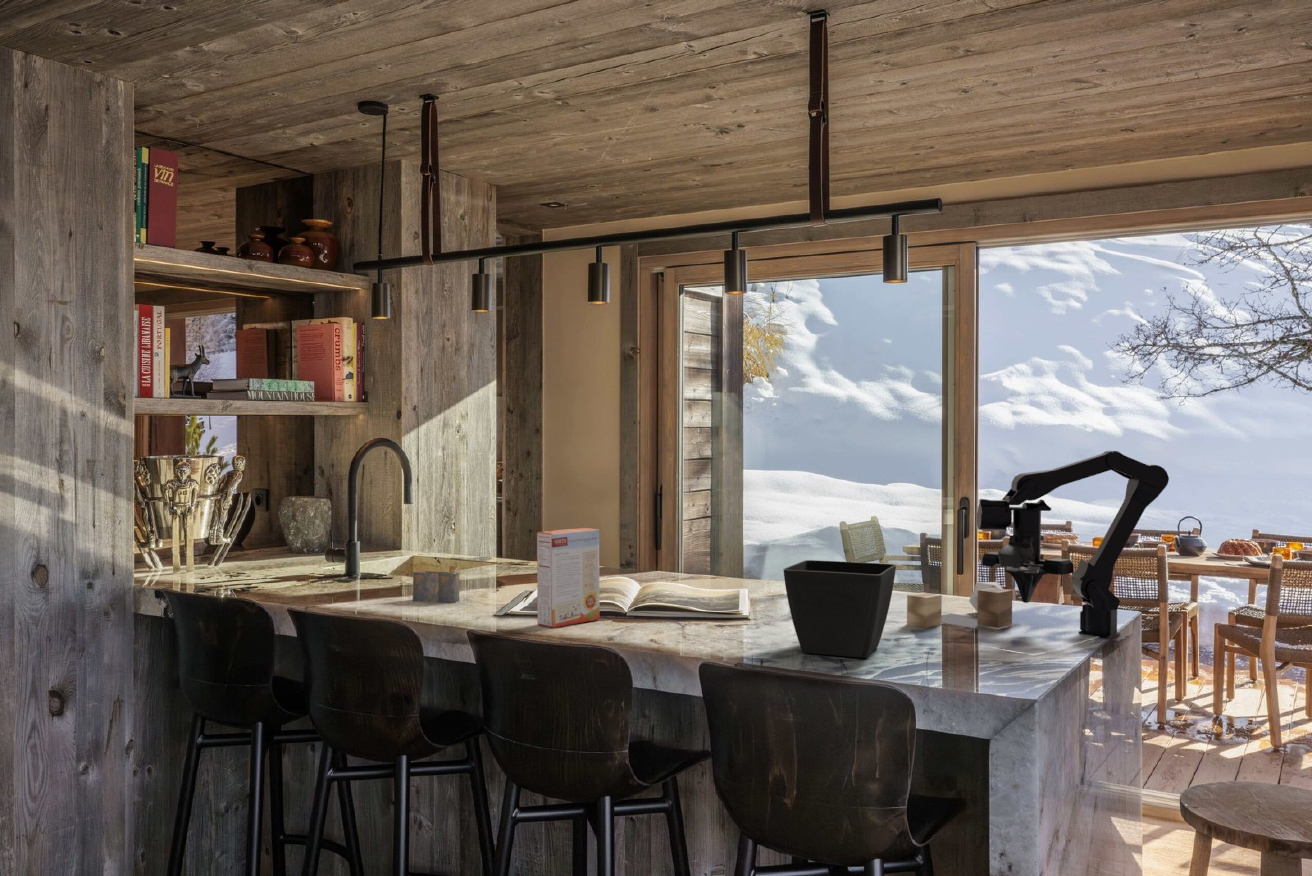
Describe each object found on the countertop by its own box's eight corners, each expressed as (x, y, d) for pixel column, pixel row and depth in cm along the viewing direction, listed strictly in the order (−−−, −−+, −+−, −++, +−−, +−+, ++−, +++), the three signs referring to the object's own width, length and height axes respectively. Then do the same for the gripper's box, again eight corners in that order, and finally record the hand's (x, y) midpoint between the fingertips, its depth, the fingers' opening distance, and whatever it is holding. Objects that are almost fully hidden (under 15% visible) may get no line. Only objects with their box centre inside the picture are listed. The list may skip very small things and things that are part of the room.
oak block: (941, 626, 226) (941, 595, 226) (926, 629, 222) (926, 597, 222) (922, 622, 229) (922, 592, 229) (906, 626, 225) (907, 595, 225)
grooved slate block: (459, 602, 253) (460, 564, 253) (454, 604, 250) (455, 565, 250) (418, 600, 256) (418, 562, 256) (412, 602, 253) (413, 564, 253)
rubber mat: (1020, 626, 226) (1020, 624, 226) (992, 632, 218) (992, 631, 218) (950, 614, 240) (950, 613, 240) (921, 620, 232) (921, 619, 232)
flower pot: (805, 637, 212) (805, 557, 212) (896, 645, 205) (896, 563, 204) (781, 655, 194) (781, 568, 194) (879, 665, 187) (880, 574, 187)
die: (1002, 622, 234) (1020, 588, 237) (969, 603, 235) (986, 569, 238) (991, 628, 241) (1008, 595, 244) (959, 609, 243) (976, 576, 246)
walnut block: (1011, 626, 225) (1012, 590, 225) (997, 629, 221) (998, 593, 221) (991, 622, 228) (991, 587, 228) (977, 625, 224) (977, 590, 224)
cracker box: (583, 617, 233) (584, 526, 233) (600, 620, 229) (601, 528, 228) (535, 624, 223) (535, 530, 223) (552, 628, 219) (553, 532, 219)
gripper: (968, 529, 220) (967, 600, 221) (1049, 537, 206) (1048, 612, 207) (995, 527, 228) (994, 595, 228) (1075, 533, 214) (1074, 606, 214)
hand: (1025, 602), depth 219 cm, fingers closed
